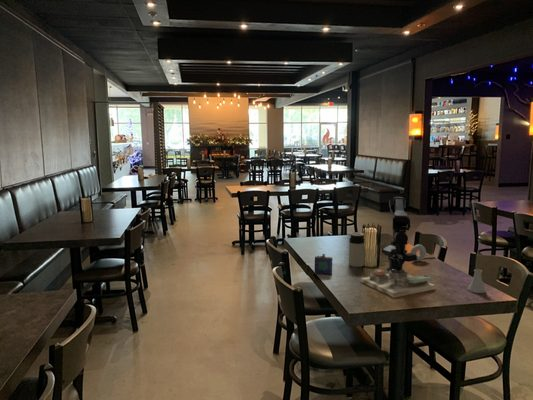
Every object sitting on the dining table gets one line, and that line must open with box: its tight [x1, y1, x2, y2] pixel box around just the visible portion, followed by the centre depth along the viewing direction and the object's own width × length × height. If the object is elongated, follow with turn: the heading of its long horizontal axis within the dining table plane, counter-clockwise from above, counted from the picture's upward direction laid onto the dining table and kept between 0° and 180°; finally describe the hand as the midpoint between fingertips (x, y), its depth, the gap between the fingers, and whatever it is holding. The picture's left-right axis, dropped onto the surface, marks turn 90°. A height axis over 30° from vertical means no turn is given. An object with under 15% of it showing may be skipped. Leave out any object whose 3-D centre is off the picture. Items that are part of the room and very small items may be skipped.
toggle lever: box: [391, 269, 397, 284], centre depth 194 cm, size 2×2×7 cm
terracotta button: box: [374, 268, 385, 277], centre depth 203 cm, size 4×4×2 cm
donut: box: [409, 243, 427, 262], centre depth 241 cm, size 10×4×10 cm, turn 110°
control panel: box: [360, 270, 436, 299], centre depth 201 cm, size 23×25×5 cm
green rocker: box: [401, 275, 432, 283], centre depth 198 cm, size 8×11×1 cm
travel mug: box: [348, 231, 365, 268], centre depth 233 cm, size 8×8×18 cm
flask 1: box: [314, 253, 333, 276], centre depth 218 cm, size 9×3×11 cm, turn 78°
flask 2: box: [467, 269, 487, 294], centre depth 193 cm, size 7×7×10 cm
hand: (398, 270), depth 209 cm, fingers closed, pressing on black button
